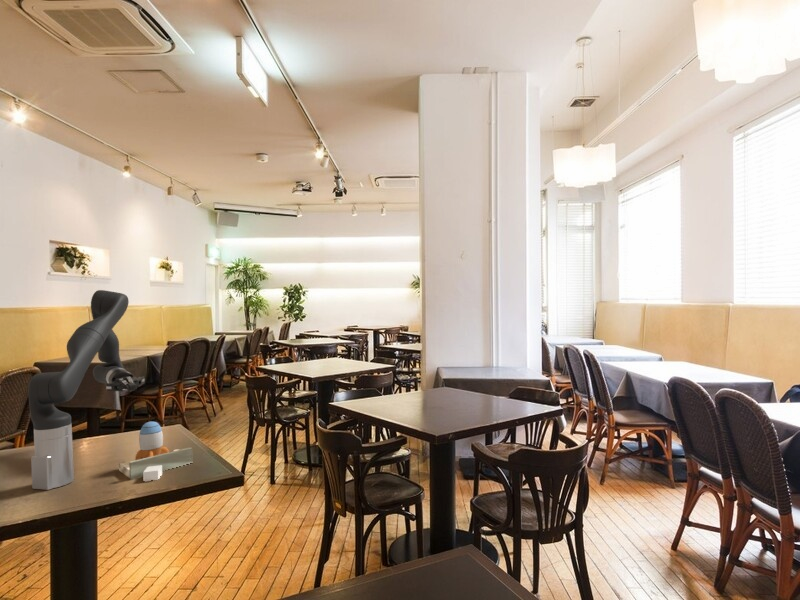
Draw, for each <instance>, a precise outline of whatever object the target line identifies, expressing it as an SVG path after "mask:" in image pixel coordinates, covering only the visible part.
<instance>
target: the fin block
mask: <svg viewBox="0 0 800 600" xmlns="http://www.w3.org/2000/svg"><path fill="white" fill-rule="evenodd" d="M160 476H161V477H162V476H163V471H162V465H159V466H150V467H147V468H146V469H145V471H144V472H143V477H142V478H143V479H142V480H143V481H145V482H152V481H151V480H153V481H159V480H160V478H161V477H160ZM158 479H159V480H158Z"/></svg>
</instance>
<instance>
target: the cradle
mask: <svg viewBox="0 0 800 600" xmlns="http://www.w3.org/2000/svg"><path fill="white" fill-rule="evenodd" d="M193 461H194V456H193V447H190V446H189V447H186V448H181V449H179V448H176V449H173V450H172V451H169V453H164V454H160V455H156V456H152V457H148V458H143V459H139V460H131V461H129V462H128V463H127V462H126V461H120V462H118V470H119V472H120V473H122V474H123V475H124V476H125V477H128V478H129V479H130V480H136V479H138V478H139V479H140V478H143V472H144V471H145V469H146V468H147V467H150V466H159V465H162V472H165V470H166V471H169V470H168V469H170V470H173V469H172V468H174V469H176V467H178V468H180V467H179V466H181V467H184V466H183V465H185V466H187V465H186V464H189V465H191V464H190V463H193V464H194V462H193Z"/></svg>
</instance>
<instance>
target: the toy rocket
mask: <svg viewBox="0 0 800 600" xmlns="http://www.w3.org/2000/svg"><path fill="white" fill-rule="evenodd" d="M163 441H164V434H163V430H162V427H161V425H160V424H159V422H157V421H148V422H145V423H144V424H143V425H142V426H141V428H140V430H139V435H138V445H139V450H138V451H137V452H136V454H135V460H139V459H143V458H148V457H152V456H156V455H160V454H164V453H169V452H170V450H169V449H168V447H166V446H164V445H163V443H164V442H163ZM135 460H134V461H135Z"/></svg>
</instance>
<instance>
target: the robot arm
mask: <svg viewBox="0 0 800 600" xmlns="http://www.w3.org/2000/svg"><path fill="white" fill-rule="evenodd" d="M128 297H129V296H127V295H126V293H122V292H117V291H116V292H115V291H109V290H104V289H98V290H96V291H94V293H93V295H92V297H91V298H90V299H91V300H90V311H91V317H92V320H90V321H87V322H85V323H83V324H81V325H80V326H78V327H77V328H76V329H75V331H74V332H73V333H72V335H70V337H69V339H68V340H67V342H66V352H67V356H68V359H69V363H68V364H67V366H66V367H65V368H64V369H63V370H62V371H54V372H52V371H51V372H50V371H49V372H39V373H36V374H34V375H33V376H32V377H31V378H30V381H29V383H28V387H27V388H28V389H27V392H28V393H27V396H28V402H29V403H28V404H29V413H30V419H31V423H32V425H33V444H34V445H33V449H34V450H33V451H34V455H32V456H31V458H30V459H31V460H30V462H31V481H32V482H31V487H32V489H33V490H34V489H35V490H44V491H45V490H46V491H48V490H51V489H56V488H59V487H63V486H66V485H69V484H71V483H73V482H74V480H75V479H74V478H75V475H74V456H73V454H74V451H73V430H72V424H73V423H72V416H71V414H70V413H69V412H65V411H62V410H60V409H58V408H57V407H56V406H55V404H62V403H66V402H69V401H70V400H72V399H73V398H74V396H75V395H76V393H77V391H78V389H79V387H80V385H81V383H82V381H83V379H84V377H85V374H86V372H87V371H88V368H89V367H90V365H91V364H92V361H93V360H94V358H95V357H96V356H97V358H98V360H99V361H100V362H101V363H99V364H97V365H95V367H94V368H93V370H92V375H93V378H94V380H95V381H97V382H98V383H101V384H105V387H106V388H105V389H106V392H126V391H129V392H134V391H136V390H137V388H139V387H141V386H142V385H144V384H145V383H146V382H145V380H146V379H145V376H144V375H142V376H139V377H137V376H134V375H133V374H132V372H130V371H128V370H126V368H125V366H124V365H123V363H122V360H121V358H120V341H119V338H118V336H117V334H116V332H115V331H114V330H113V329H114V327H115V326H116V325H117V324H118V322H119V321H120V320H121V319H122V317H123V316H124V315H125V313H126V311H127V309H128V307H129V303H130V302H129V298H128Z"/></svg>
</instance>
